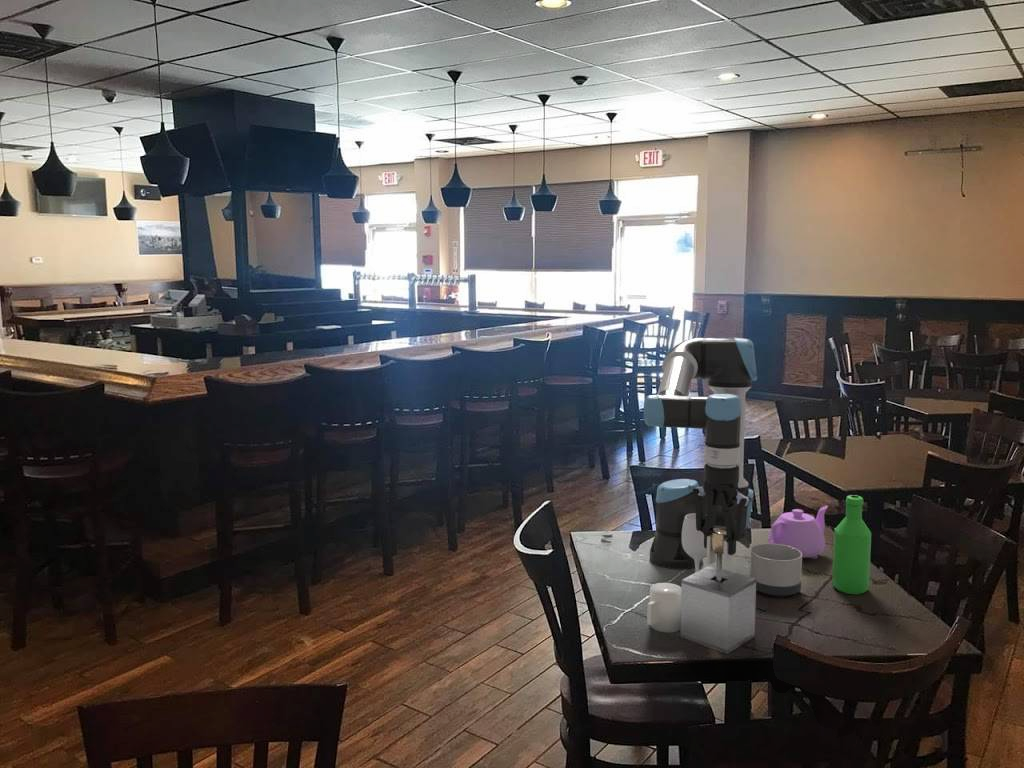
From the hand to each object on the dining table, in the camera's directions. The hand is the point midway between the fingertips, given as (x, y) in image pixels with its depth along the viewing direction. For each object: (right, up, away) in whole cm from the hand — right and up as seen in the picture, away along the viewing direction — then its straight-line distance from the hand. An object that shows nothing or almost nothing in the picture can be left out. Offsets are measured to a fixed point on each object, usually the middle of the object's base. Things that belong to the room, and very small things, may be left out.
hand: (719, 564), depth 177 cm
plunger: (0, -15, +2) cm, 15 cm away
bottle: (+42, -13, +28) cm, 52 cm away
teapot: (+38, -10, +54) cm, 66 cm away
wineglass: (+1, -14, +26) cm, 29 cm away
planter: (+22, -13, +28) cm, 38 cm away
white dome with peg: (-11, -17, +8) cm, 22 cm away
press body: (0, -17, +2) cm, 17 cm away
